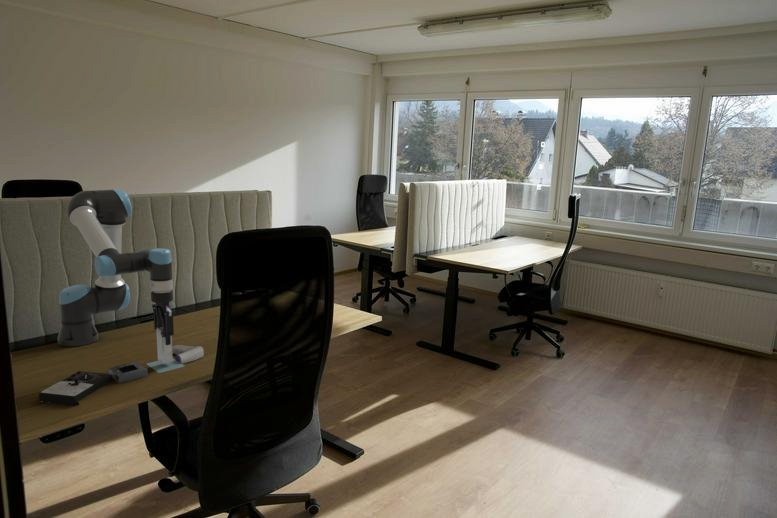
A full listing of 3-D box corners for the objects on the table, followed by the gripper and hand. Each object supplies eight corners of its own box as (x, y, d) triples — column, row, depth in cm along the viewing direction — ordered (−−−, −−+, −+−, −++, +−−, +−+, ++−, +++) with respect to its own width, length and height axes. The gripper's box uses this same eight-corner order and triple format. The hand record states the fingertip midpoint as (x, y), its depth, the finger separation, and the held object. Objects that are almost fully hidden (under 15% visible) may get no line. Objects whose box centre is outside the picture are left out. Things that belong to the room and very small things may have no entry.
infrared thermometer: (179, 352, 232) (206, 357, 225) (155, 361, 221) (182, 366, 214) (178, 341, 231) (205, 346, 224) (154, 350, 221) (181, 355, 214)
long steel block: (157, 360, 212) (156, 327, 210) (168, 358, 215) (166, 325, 213) (162, 363, 210) (160, 330, 207) (172, 361, 212) (171, 328, 210)
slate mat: (145, 366, 213) (145, 363, 213) (171, 359, 220) (171, 357, 220) (159, 375, 205) (159, 373, 205) (185, 368, 212) (185, 366, 212)
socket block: (109, 377, 202) (108, 368, 202) (137, 370, 209) (136, 361, 209) (119, 385, 195) (118, 376, 195) (148, 378, 202) (147, 369, 202)
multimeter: (113, 383, 198) (112, 370, 197) (75, 407, 180) (74, 393, 179) (79, 380, 200) (78, 366, 199) (38, 403, 182) (37, 389, 181)
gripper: (142, 287, 210) (145, 347, 215) (161, 296, 199) (164, 359, 203) (162, 284, 216) (165, 342, 220) (182, 293, 204) (184, 354, 208)
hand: (164, 350), depth 212 cm, fingers closed on long steel block, 4 cm apart
